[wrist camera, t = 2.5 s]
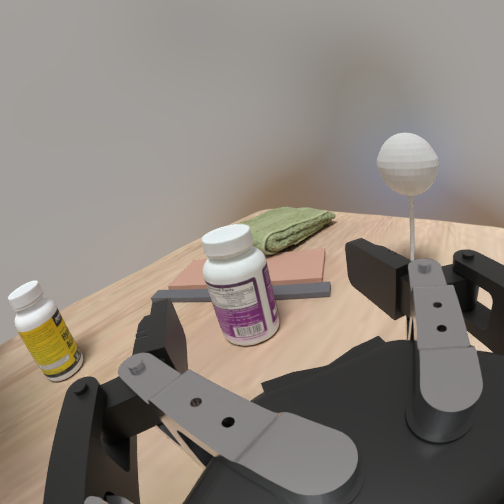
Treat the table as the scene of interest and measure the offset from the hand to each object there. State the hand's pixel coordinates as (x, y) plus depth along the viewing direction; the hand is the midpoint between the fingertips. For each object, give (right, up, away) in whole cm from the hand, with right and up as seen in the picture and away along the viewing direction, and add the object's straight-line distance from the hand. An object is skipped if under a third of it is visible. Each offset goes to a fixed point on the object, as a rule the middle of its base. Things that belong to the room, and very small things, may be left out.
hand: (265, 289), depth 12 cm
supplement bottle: (-21, -11, +13) cm, 27 cm away
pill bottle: (-1, -6, +14) cm, 15 cm away
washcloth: (+4, +4, +36) cm, 36 cm away
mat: (-2, -2, +25) cm, 25 cm away
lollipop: (+16, -1, +15) cm, 22 cm away
